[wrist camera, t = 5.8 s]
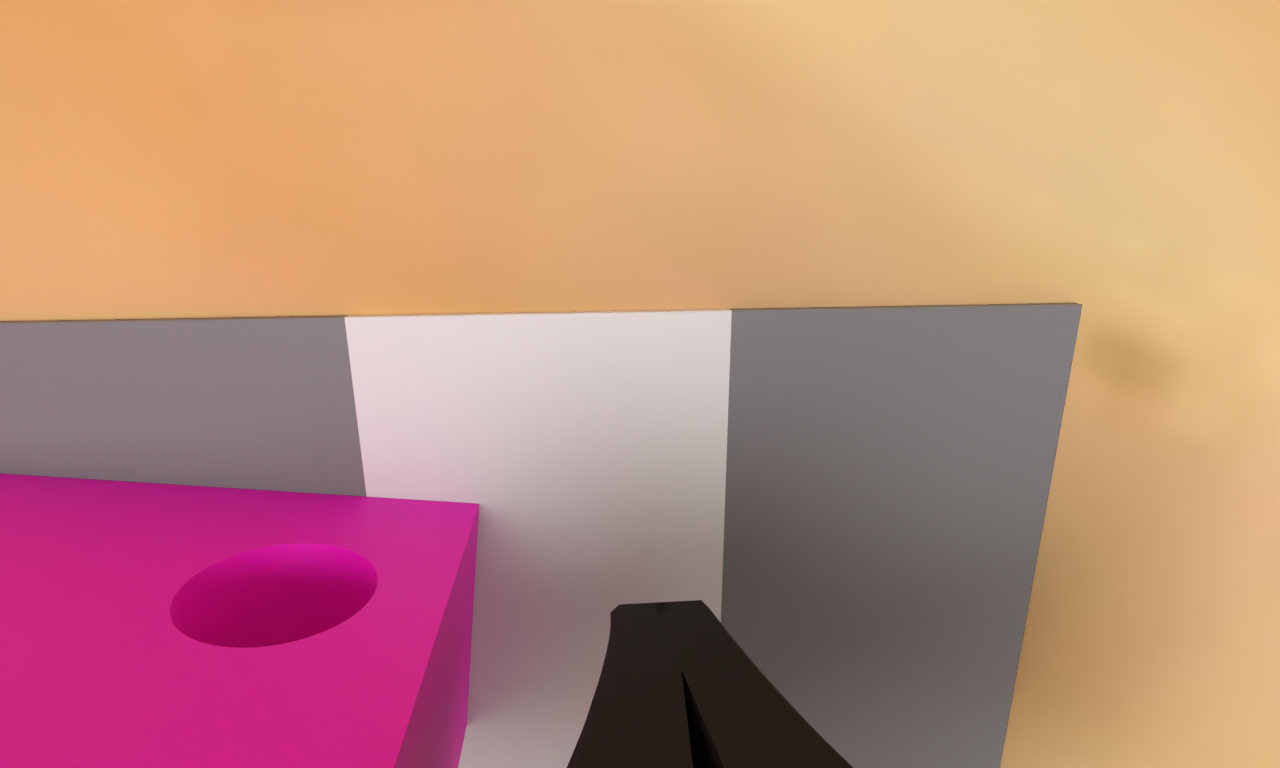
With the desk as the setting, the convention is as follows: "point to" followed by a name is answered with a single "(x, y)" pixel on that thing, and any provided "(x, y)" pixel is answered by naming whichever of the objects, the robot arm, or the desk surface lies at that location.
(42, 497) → the toy block
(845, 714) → the board
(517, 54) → the desk surface
